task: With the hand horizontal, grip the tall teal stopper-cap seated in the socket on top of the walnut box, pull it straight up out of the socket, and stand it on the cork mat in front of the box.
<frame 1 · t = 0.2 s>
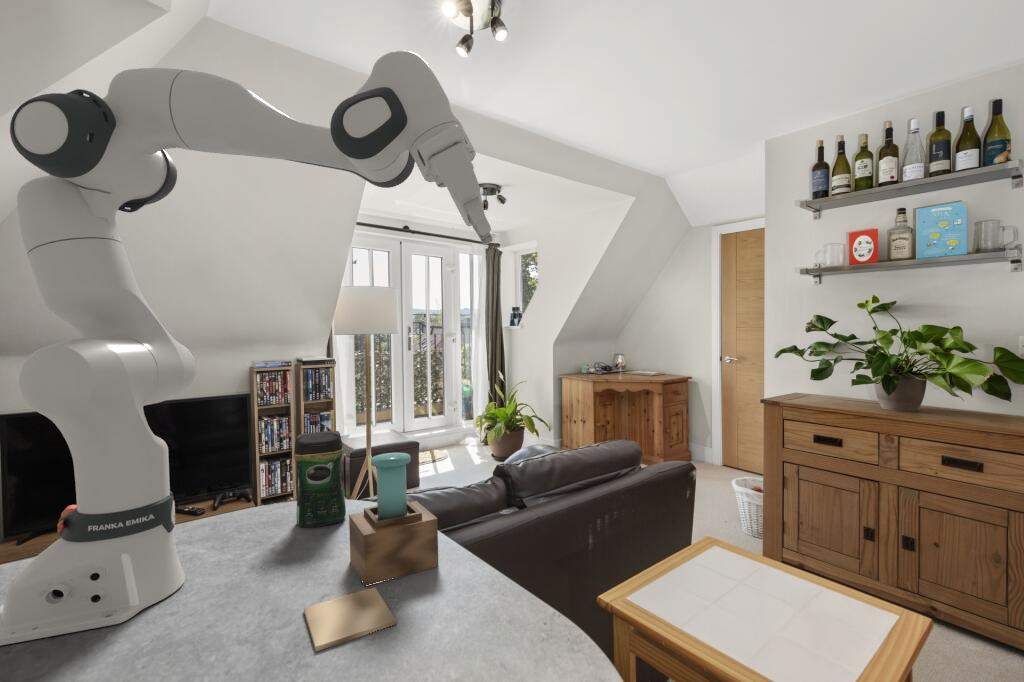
hand: (487, 238, 75), 53 cm above the countertop, tool tilted 25°, fingers open, 8 cm apart
stopper cap: (392, 516, 82), point 8 cm above the countertop, touching walnut box
coffee jar: (321, 521, 101), on the countertop
cork mat: (348, 618, 66), on the countertop
walnut box: (393, 563, 82), on the countertop
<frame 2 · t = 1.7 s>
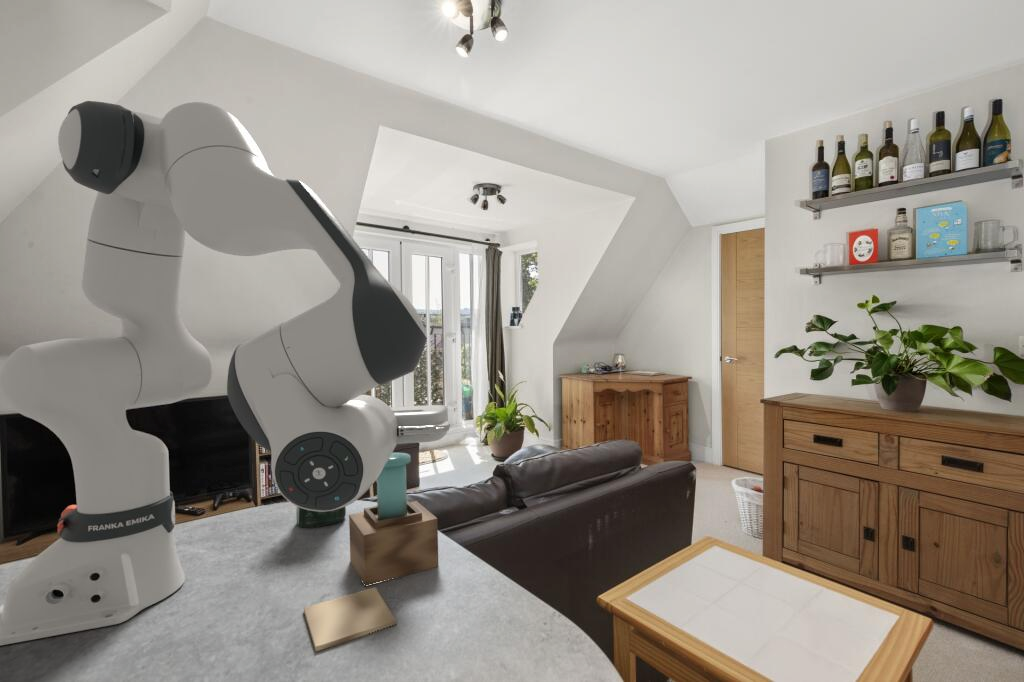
hand: (377, 415, 69), 27 cm above the countertop, tool horizontal, fingers open, 8 cm apart
nothing on the countertop moved.
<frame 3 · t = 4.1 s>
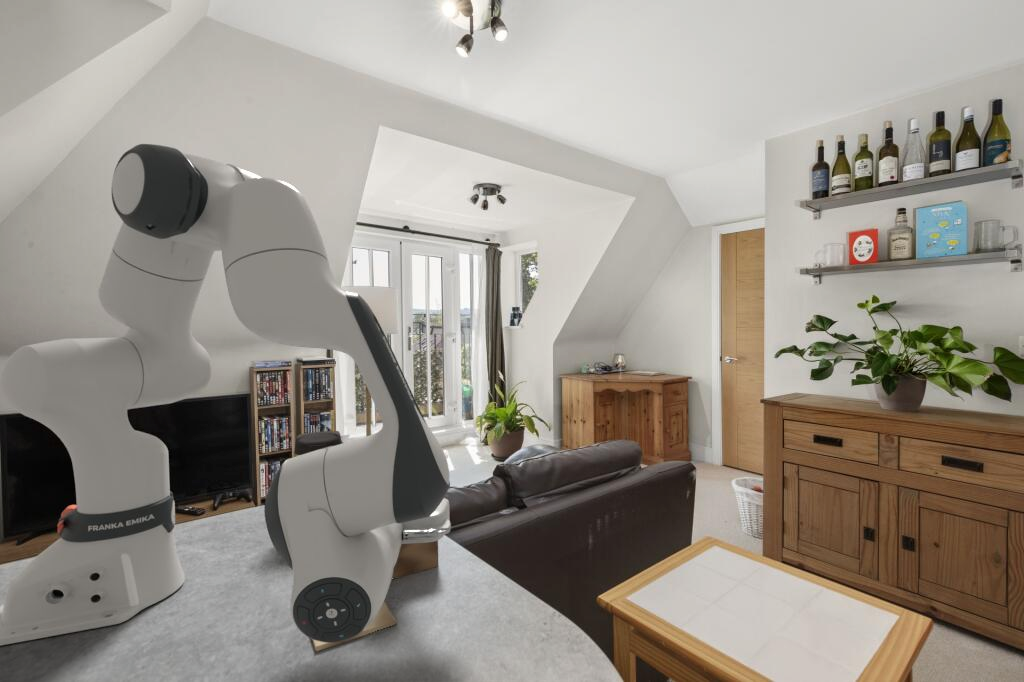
hand: (383, 500, 74), 13 cm above the countertop, tool horizontal, fingers open, 8 cm apart
nothing on the countertop moved.
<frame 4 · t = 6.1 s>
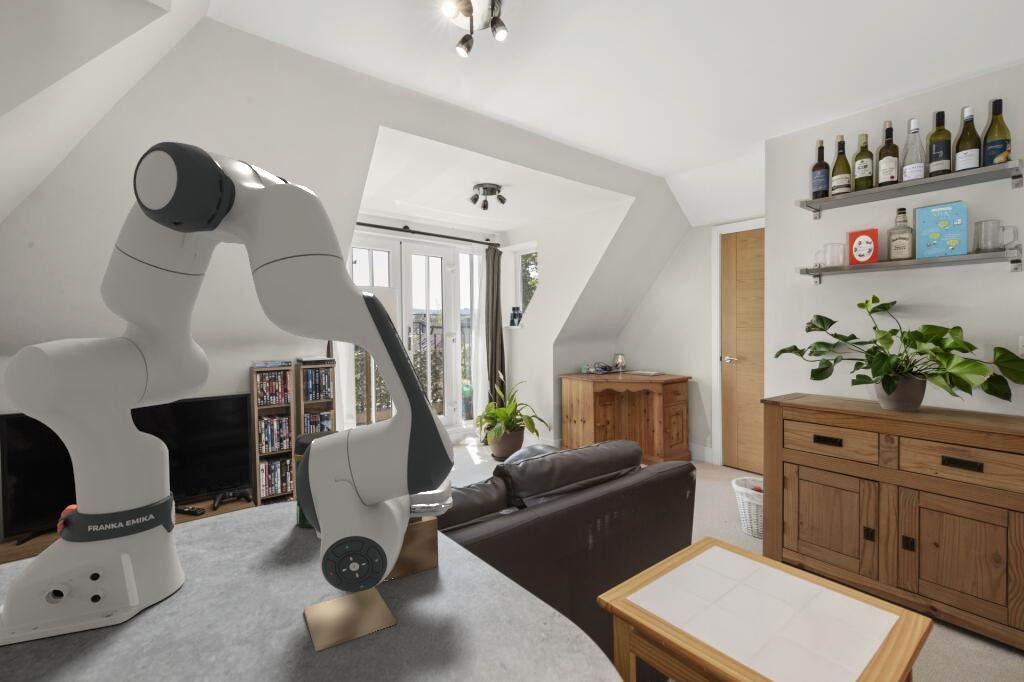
hand: (392, 482, 82), 14 cm above the countertop, tool horizontal, fingers closed on stopper cap, 5 cm apart
stopper cap: (392, 516, 82), point 8 cm above the countertop, touching gripper, walnut box
everything else where it was.
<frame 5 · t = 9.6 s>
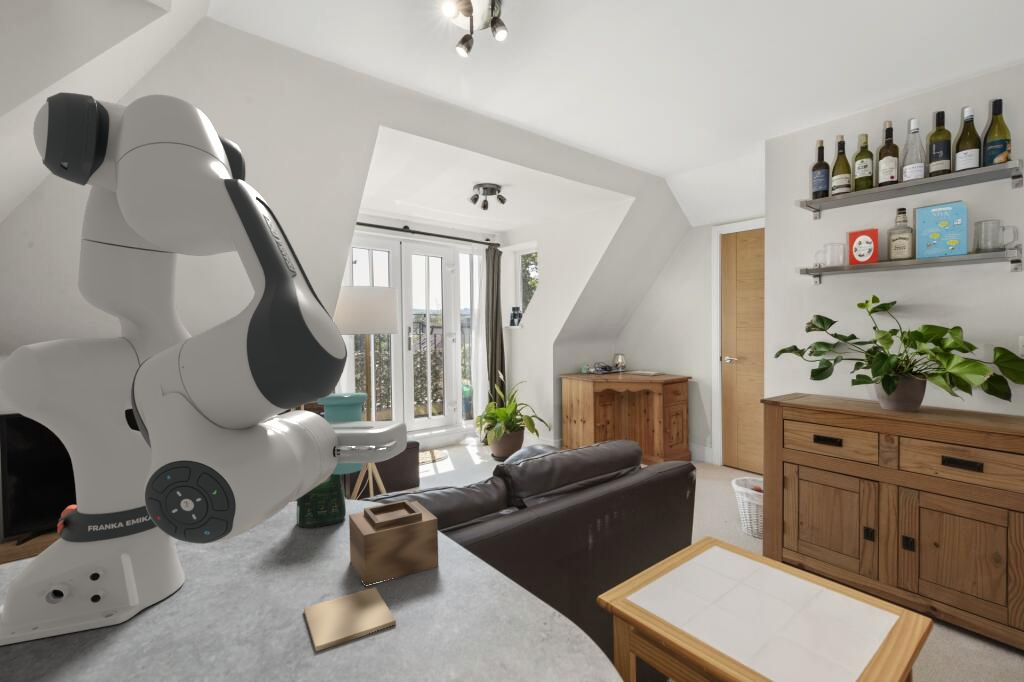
hand: (346, 427, 67), 26 cm above the countertop, tool horizontal, fingers closed on stopper cap, 5 cm apart
stopper cap: (345, 469, 66), point 21 cm above the countertop, touching gripper
everything else where it was.
when the fingers open (7 cm above the countertop, at t = 13.3 s): stopper cap drops 1 cm, resting on cork mat.
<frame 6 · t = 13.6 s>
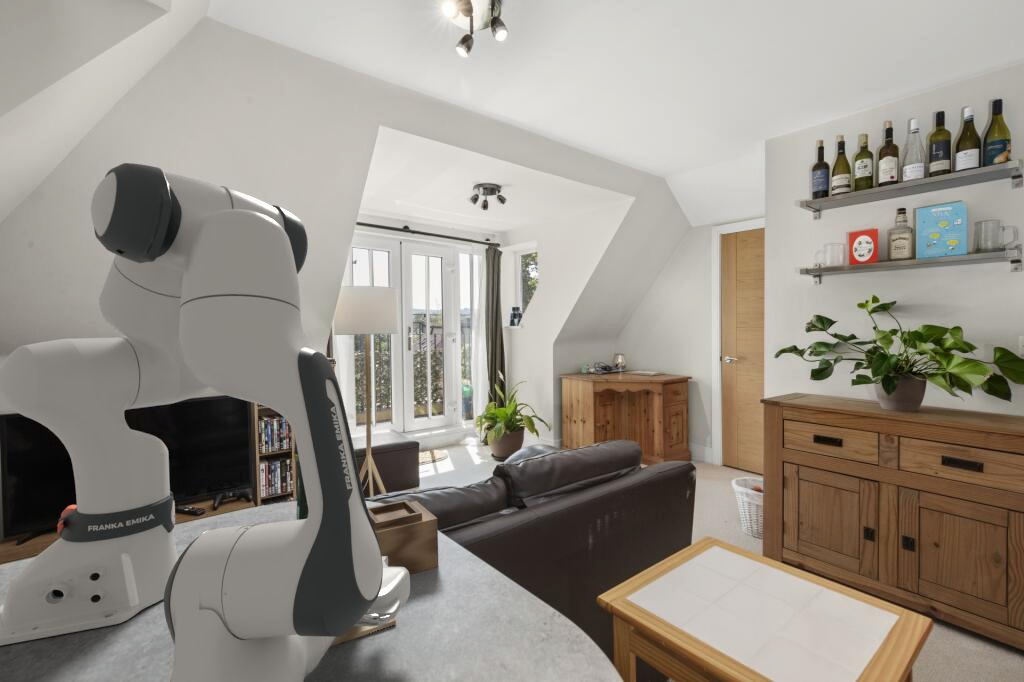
hand: (349, 560, 67), 7 cm above the countertop, tool horizontal, fingers open, 8 cm apart
stopper cap: (348, 613, 66), point 1 cm above the countertop, touching cork mat
everything else where it was.
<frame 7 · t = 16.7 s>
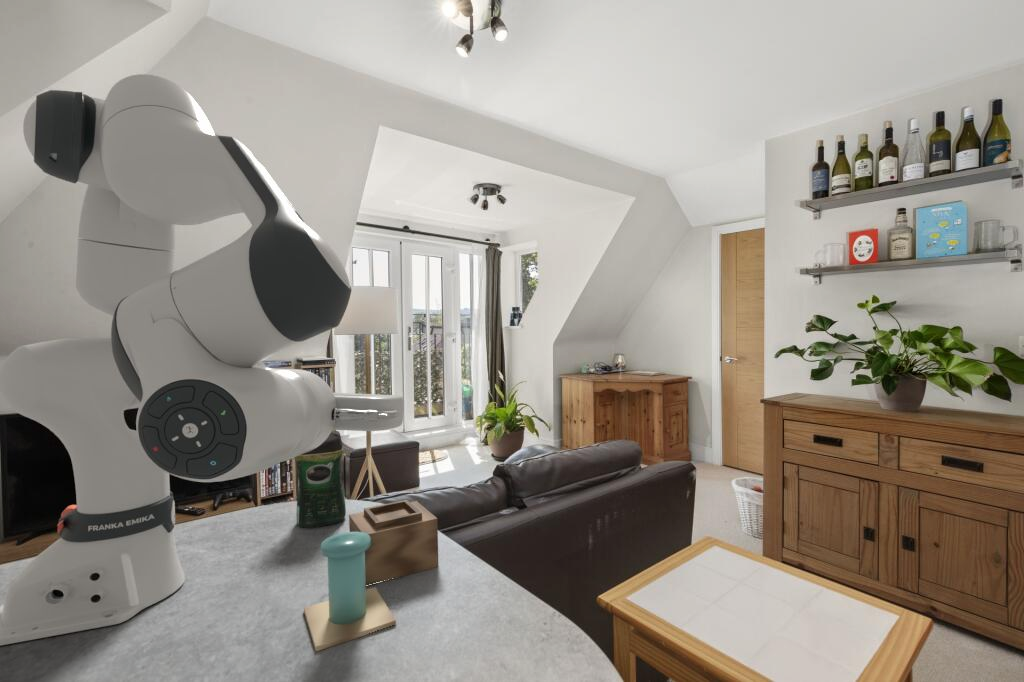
hand: (332, 404, 62), 30 cm above the countertop, tool horizontal, fingers open, 8 cm apart
nothing on the countertop moved.
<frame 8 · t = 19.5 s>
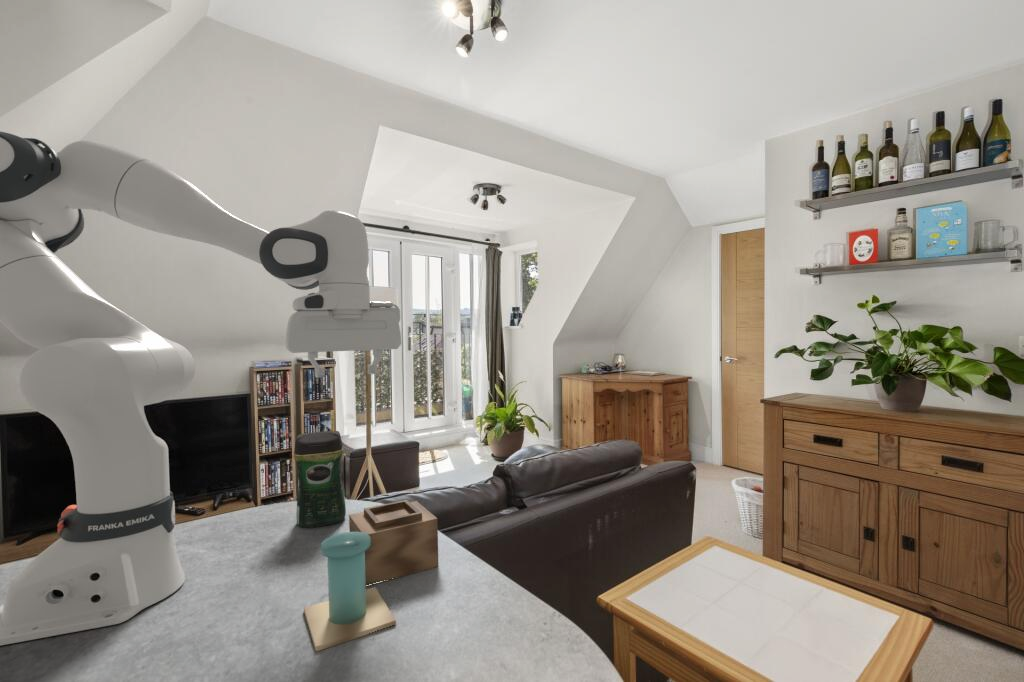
hand: (346, 375, 90), 31 cm above the countertop, tool pointing down, fingers open, 8 cm apart
nothing on the countertop moved.
at the end: stopper cap inside the target area on the cork mat (0.1 cm from its centre), point 0.6 cm above the cork mat's base; stopper cap tilted 0°; stopper cap touching cork mat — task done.
